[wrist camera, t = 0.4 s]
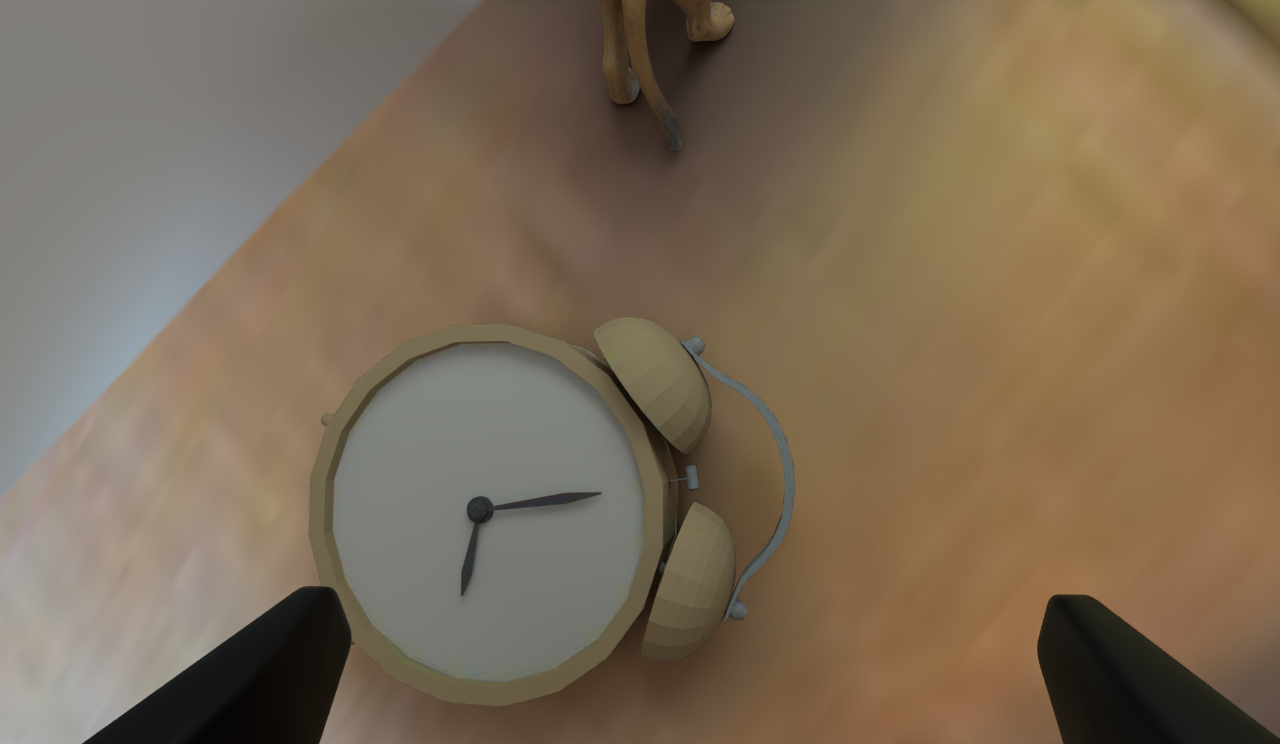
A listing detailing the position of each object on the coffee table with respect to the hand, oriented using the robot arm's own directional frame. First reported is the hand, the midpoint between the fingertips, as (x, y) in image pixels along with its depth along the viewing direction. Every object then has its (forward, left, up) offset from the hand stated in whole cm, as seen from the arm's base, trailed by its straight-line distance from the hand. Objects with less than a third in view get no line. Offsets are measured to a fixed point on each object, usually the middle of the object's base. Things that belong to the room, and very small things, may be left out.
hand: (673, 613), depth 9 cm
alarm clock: (+2, +4, -15) cm, 16 cm away
